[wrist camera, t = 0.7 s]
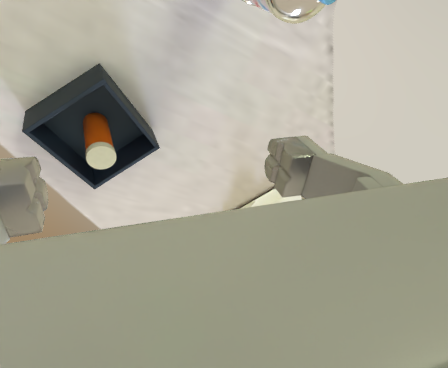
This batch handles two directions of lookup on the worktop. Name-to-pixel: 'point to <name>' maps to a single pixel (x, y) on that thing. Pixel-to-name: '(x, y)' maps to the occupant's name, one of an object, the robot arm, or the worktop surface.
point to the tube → (98, 141)
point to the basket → (73, 125)
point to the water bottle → (291, 8)
